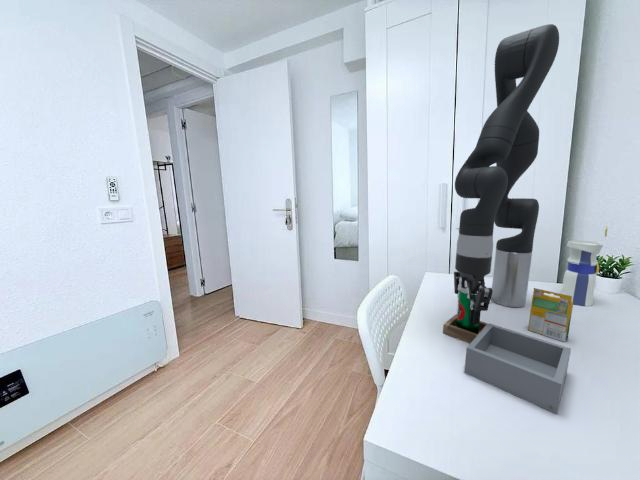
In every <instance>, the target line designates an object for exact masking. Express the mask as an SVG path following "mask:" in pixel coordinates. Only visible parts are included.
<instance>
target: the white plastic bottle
mask: <svg viewBox="0 0 640 480" xmlns="http://www.w3.org/2000/svg"><path fill="white" fill-rule="evenodd" d="M607 235H608V226H607V225H606V226H605V229H604V238H606V237H607ZM603 246H604V245H602V244H600V243H599V242H596V241H589V240H576V239H575V240H568V242H567V243H566V247H567V248H570V255H569V257H568V258H567V259H566V261H567V262H568V263H567V267H566V270H565V272H564V275H563V280H562V284H561V285H562V286H561V291H560V294H564V295H569V296H572V299H571V301H573V306H574V305H575V306H579V307H591V305H592V306H593V302H594V301H593V300H594V291H595V284H596V275H597V274H598V273H599V271H600V265H599V262H598V260H597V256H600V252H601V250H602V248H603Z"/></svg>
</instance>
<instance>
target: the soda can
mask: <svg viewBox="0 0 640 480" xmlns="http://www.w3.org/2000/svg"><path fill="white" fill-rule="evenodd" d="M457 295H458V294H457ZM471 295H472V296H477V294H471ZM475 302H476V300H474V305H475ZM469 313H470V301H469V299H467V292H466V287H465V286H463V287H462V286H461V288H460V289H459V295H458V297H457V312H456V314H457V325H456V327H458V328H461V329H464V330H467V331H470V332H473V333H476V334H478V333H479V326H480V323H479V324H471V323H470V322H469Z"/></svg>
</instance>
